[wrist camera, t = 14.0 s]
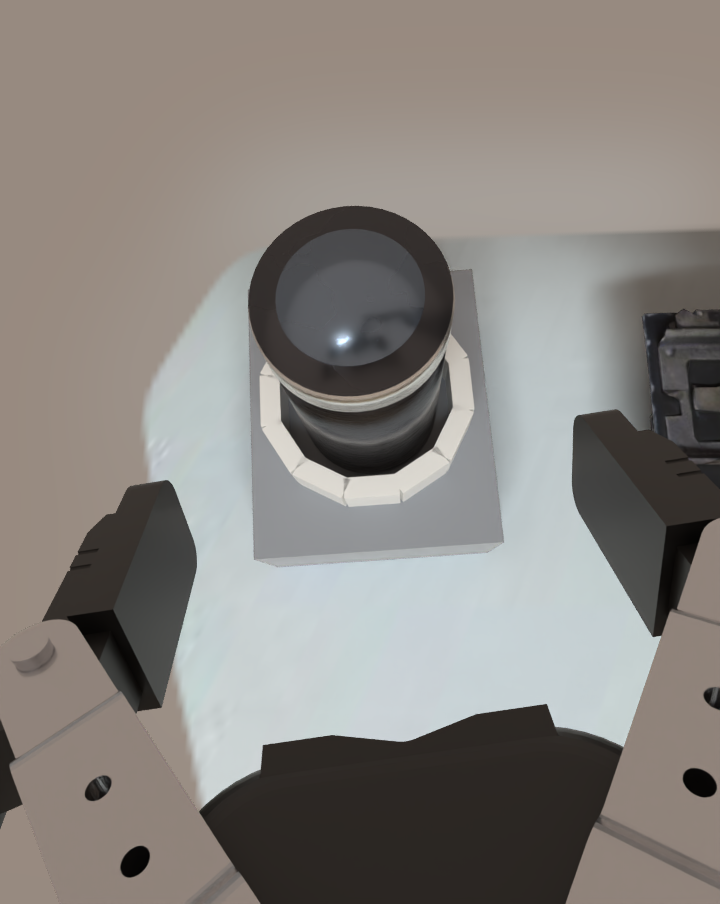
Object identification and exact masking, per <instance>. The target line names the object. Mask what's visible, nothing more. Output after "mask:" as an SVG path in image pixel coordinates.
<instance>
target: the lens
mask: <svg viewBox="0 0 720 904" xmlns="http://www.w3.org/2000/svg"><path fill="white" fill-rule="evenodd" d="M454 307H455V292H454V285H453V280H452V276H451V273H450V270H449V267H448V265H447V262H446V260H445V258H444V256H443V254H442V252H441V251H440V250H439V248H438V247H437V245H436V244H435V242H434V241H433V240H432V239H431V238H430V237H429V236H428V235H427V234H426V233H425V232H424V231H423V230H422V229H420V228H419V227H418V226H417V225H415V224H414V223H412V222H410V221H409V220H407V219H405V218H403V217H401V216H399V215H397V214H395V213H392V212H389V211H386V210H383V209H378V208H373V207H363V206H344V207H338V208H332V209H328V210H324V211H320V212H317V213H315V214H312V215H310V216H308V217H305V218H304V219H302V220H300V221H298V222H296V223H295V224H293V225H292V226H291V227H289V228H288V229H286V230H285V231H284V232H283V233H282V234H280V235H279V236H278V237H277V238H276V239H275V240H274V241H273V242H272V244H271V245H270V246H269V247H268V248H267V250H266V251H265V253H264V254H263V256H262V257H261V259H260V261H259V263H258V265H257V267H256V269H255V272H254V275H253V277H252V280H251V285H250V290H249V301H248V312H249V322H250V326H251V330H252V334H253V336H254V339H255V342H256V344H257V346H258V348H259V350H260V351H261V353H262V355H263V357H264V358H265V360H266V362H267V364H268V365H269V367H270V369H271V371H272V372H273V374H274V375H275V376H276V377H277V379H278V380H279V382H280V384H281V385H282V387H283V389H284V391H285V393H286V394H287V396H288V398H289V400H290V401H291V403H292V405H293V407H294V409H295V410H296V412H297V414H298V416H299V418H300V419H301V421H302V423H303V425H304V427H305V428H306V430H307V432H308V434H309V436H310V437H311V439H312V441H313V443H314V444H315V446H316V447H317V449H318V450H319V451H320V452H321V453H322V454H323V455H324V456H325V457H326V458H327V459H328V460H329V461H331V462H332V463H334V464H335V465H337V466H339V467H341V468H343V469H346V470H348V471H352V472H356V473H364V474H375V473H382V472H386V471H390V470H393V469H395V468H398V467H400V466H402V465H403V464H405V463H407V462H408V461H409V460H411V459H412V458H413V457H415V456H416V455H417V454H418V453H419V452H420V450H421V449H422V448H423V446H424V445H425V444H426V442H427V440H428V438H429V437H430V434H431V432H432V429H433V425H434V421H435V415H436V409H437V403H438V397H439V391H440V384H441V378H442V372H443V366H444V360H445V353H446V348H447V346H448V342H449V338H450V334H451V328H452V322H453V316H454Z"/></svg>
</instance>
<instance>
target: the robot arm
mask: <svg viewBox="0 0 720 904" xmlns="http://www.w3.org/2000/svg"><path fill="white" fill-rule="evenodd" d="M572 489H573V496H574V500H575V504H576V507H577V509H578V512H579V514H580V515H581V517H582V519H583V520H584V522H585V524H586V525H587V527H588V529H589V530H590V532H591V534H592V536H593V537H594V539H595V541H596V542H597V544H598V546H599V547H600V549H601V551H602V552H603V554H604V556H605V557H606V559H607V561H608V562H609V564H610V566H611V567H612V569H613V571H614V573H615V574H616V576H617V578H618V579H619V581H620V583H621V584H622V586H623V588H624V589H625V591H626V593H627V594H628V596H629V598H630V599H631V601H632V603H633V605H634V606H635V608H636V610H637V611H638V613H639V615H640V616H641V618H642V620H643V621H644V623H645V625H646V626H647V628H648V630H649V631H650V633H651V635H652V636H653V637H656V636H661V639H660V642H659V645H658V648H657V651H656V654H655V657H654V660H653V663H652V666H651V669H650V672H649V675H648V678H647V680H646V683H645V686H644V689H643V692H642V695H641V698H640V701H639V704H638V707H637V710H636V713H635V716H634V719H633V722H632V725H631V728H630V731H629V733H628V736H627V739H626V742H625V745H624V747H622V746H621V745H618V744H616V743H614V742H611V741H609V740H607V739H604V738H602V737H599V736H596V735H593V734H589V733H586V732H583V731H578V730H573V729H568V728H561V727H555V726H554V723H553V720H552V717H551V715H550V712H549V709H548V706H547V704H544V705H537V706H530V707H523V708H516V709H509V710H502V711H496V712H489V713H482V714H476V715H473V716H471V717H468V718H466V719H463V720H461V721H458V722H456V723H453V724H451V725H448V726H446V727H443V728H441V729H438V730H436V731H434V732H431V733H429V734H426V735H424V736H421V737H419V738H416V739H414V740H410V741H406V742H396V741H385V740H375V739H365V738H355V737H345V736H335V735H330V736H323V737H316V738H309V739H303V740H296V741H289V742H282V743H275V744H268V745H263V751H262V763H261V770H258V771H256V772H254V773H251V774H249V775H248V776H246V777H244V778H242V779H240V780H238V781H236V782H235V783H233V784H232V785H230V786H229V787H228V788H226V789H225V790H223V791H222V792H220V793H219V794H218V795H217V796H215V797H214V798H213V799H212V800H211V801H209V802H208V803H207V804H206V805H205V806H204V807H203V808H202V809H201V810H200V811H198V810H197V808H196V807H195V805H194V804H193V802H192V801H191V799H190V797H189V796H188V794H187V793H186V791H185V790H184V788H183V787H182V785H181V783H180V782H179V780H178V779H177V777H176V776H175V774H174V772H173V771H172V769H171V768H170V766H169V765H168V763H167V762H166V760H165V759H164V757H163V755H162V754H161V752H160V751H159V749H158V748H157V746H156V745H155V743H154V742H153V740H152V738H151V737H150V735H149V734H148V732H147V731H146V729H145V727H144V726H143V724H142V723H141V721H140V720H139V718H138V717H137V715H136V713H137V711H142V710H149V709H156V708H161V707H162V704H163V700H164V695H165V692H166V688H167V684H168V680H169V676H170V671H171V668H172V664H173V660H174V656H175V652H176V648H177V645H178V641H179V637H180V633H181V629H182V625H183V621H184V617H185V613H186V609H187V605H188V601H189V597H190V593H191V589H192V586H193V582H194V578H195V574H196V568H197V555H196V548H195V544H194V540H193V537H192V535H191V532H190V529H189V527H188V524H187V521H186V519H185V516H184V513H183V511H182V508H181V505H180V503H179V500H178V497H177V494H176V492H175V489H174V487H173V485H172V484H171V483H170V482H169V481H168V480H165V481H159V482H152V483H146V484H140V485H134V486H130V487H129V488H128V489H127V490H126V492H125V494H124V496H123V498H122V501H121V503H120V505H119V507H118V509H117V511H116V513H114V514H108V515H106V516H105V517H104V518H102V519H101V521H99V522H98V523H97V524H96V525H95V526H94V527H93V528H92V529H91V530H90V531H89V532H88V533H87V535H86V537H85V539H84V541H83V543H82V545H81V547H80V549H79V551H78V555H76V556H75V558H74V560H73V562H72V564H71V566H70V571H68V572H67V574H66V576H65V578H64V580H63V582H62V584H61V586H60V588H59V589H58V592H57V593H56V595H55V597H54V599H53V601H52V603H51V605H50V607H49V609H48V611H47V613H46V615H45V617H44V619H43V620H42V622H40V623H37V624H35V625H32V626H29V627H27V628H25V629H24V630H22V631H20V632H18V633H17V634H15V635H14V636H12V637H11V638H10V639H8V640H7V641H6V642H5V643H4V644H2V645H1V646H0V828H1V825H2V823H3V820H4V817H5V815H6V812H7V811H9V810H11V809H13V808H15V807H18V806H20V805H22V804H23V806H24V809H25V811H26V814H27V817H28V820H29V822H30V825H31V828H32V830H33V833H34V836H35V838H36V841H37V844H38V847H39V849H40V852H41V855H42V857H43V860H44V863H45V866H46V868H47V871H48V874H49V876H50V879H51V882H52V884H53V887H54V890H55V893H56V895H57V898H58V901H59V903H60V904H720V489H719V488H718V487H717V486H716V485H715V484H714V483H713V482H712V481H711V480H710V479H709V478H708V477H707V476H706V475H705V474H704V473H703V474H702V473H701V470H700V469H699V468H698V467H697V466H696V465H695V463H694V462H693V461H692V460H690V461H689V459H688V456H687V455H686V454H685V453H684V452H683V451H682V450H681V449H680V448H679V447H678V446H677V445H676V444H675V443H674V442H673V441H671V440H669V439H667V438H665V437H663V436H661V435H659V434H657V433H655V432H653V431H651V430H644V431H637V430H636V429H635V428H634V427H633V425H632V424H631V423H630V422H629V421H628V420H627V419H626V418H625V417H624V415H623V414H622V413H621V412H620V411H619V410H616V409H615V410H609V411H602V412H596V413H590V414H583V415H578V416H576V418H575V420H574V426H573V461H572Z"/></svg>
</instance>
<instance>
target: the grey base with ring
mask: <svg viewBox="0 0 720 904" xmlns="http://www.w3.org/2000/svg"><path fill="white" fill-rule="evenodd" d="M450 273H451V276H452V280H453V285H454V292H455V307H454V316H453V322H452V328H451V334H450V338H449V342H448V346H447V348H446V353H445V360H444V366H443V372H442V378H441V384H440V391H439V397H438V403H437V409H436V415H435V421H434V425H433V429H432V432H431V434H430V437H429V438H428V440H427V442H426V444H425V445H424V446H423V448H422V449H421V450H420V452H419V453H418V454H417V455H416V456H415V457H413V458H412V459H411V460H409V461H408V462H407V463H405V464H403V465H402V466H400V467H398V468H395V469H393V470H390V471H386V472H382V473H375V474H364V473H356V472H352V471H348V470H346V469H343V468H341V467H339V466H337V465H335V464H334V463H332V462H331V461H329V460H328V459H327V458H326V457H325V456H324V455H323V454H322V453H321V452H320V451H319V450H318V449H317V447H316V446H315V444H314V443H313V441H312V439H311V437H310V436H309V434H308V432H307V430H306V428H305V427H304V425H303V423H302V421H301V419H300V418H299V416H298V414H297V412H296V410H295V409H294V407H293V405H292V403H291V401H290V400H289V398H288V396H287V394H286V393H285V391H284V389H283V387H282V385H281V384H280V382H279V380H278V379H277V377H276V376H275V375H274V374H273V372H272V371H271V369H270V367H269V365H268V364H267V362H266V360H265V358H264V357H263V355H262V353H261V351H260V350H259V348H258V346H257V344H256V342H255V339H254V336H253V334H252V330H251V326H250V322H249V356H250V402H251V448H252V494H253V540H254V560H257V561H260V562H263V563H267V564H270V565H273V566H276V567H286V566H301V565H315V564H330V563H344V562H359V561H374V560H388V559H403V558H417V557H432V556H446V555H461V554H475V553H488V552H489V551H491V550H493V549H494V548H496V547H497V546H499V545H500V544H502V543H504V537H503V529H502V521H501V512H500V504H499V495H498V487H497V478H496V470H495V461H494V453H493V444H492V436H491V427H490V419H489V410H488V402H487V394H486V385H485V377H484V368H483V360H482V351H481V343H480V334H479V326H478V317H477V309H476V300H475V292H474V283H473V275H472V269H469V270H458V271H450ZM248 301H249V290H248Z"/></svg>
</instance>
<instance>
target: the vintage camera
mask: <svg viewBox="0 0 720 904" xmlns="http://www.w3.org/2000/svg"><path fill="white" fill-rule="evenodd" d="M642 320H643V329H644V337H645V345H646V353H647V362H648V371H649V381H650V391H651V402H652V413H653V415H651V416H650V422H651V430H652V431H653V432H655V433H657V434H659V435H661V436H663V437H665V438H667V439H669V440H671V441H673V442H674V443H675V444H676V445H677V446H678V447H679V448H680V449H681V450H682V451H683V452H684V453H685V454H686V455H687V456H688V459H689V461H690V460H692V461H693V462H694V463H695V465H696V466H697V467H698V468H699V469H700V470H701V473H702V474H703V473H704V474H705V475H706V476H707V477H708V478H709V479H710V480H711V481H712V482H713V483H714V484H715V485H716V486H717V487H718V488H719V489H720V310H695V311H694V312H693V313H691V312H689V311H687V310H685V309H683V310H681V311H680V312H678V313H650V314H644V315H643V316H642Z"/></svg>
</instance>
